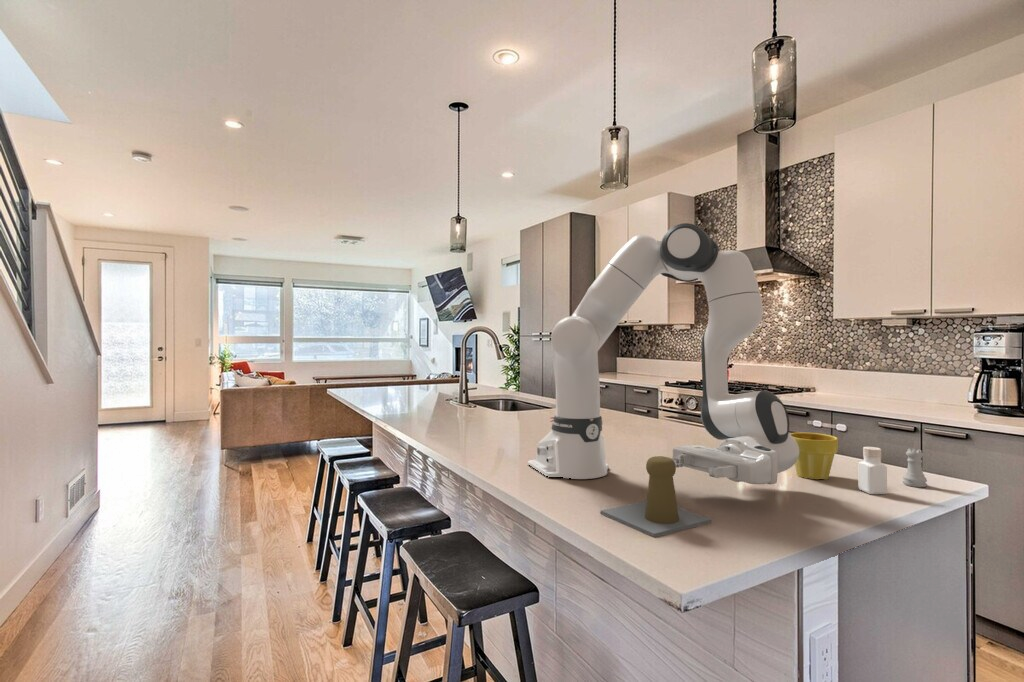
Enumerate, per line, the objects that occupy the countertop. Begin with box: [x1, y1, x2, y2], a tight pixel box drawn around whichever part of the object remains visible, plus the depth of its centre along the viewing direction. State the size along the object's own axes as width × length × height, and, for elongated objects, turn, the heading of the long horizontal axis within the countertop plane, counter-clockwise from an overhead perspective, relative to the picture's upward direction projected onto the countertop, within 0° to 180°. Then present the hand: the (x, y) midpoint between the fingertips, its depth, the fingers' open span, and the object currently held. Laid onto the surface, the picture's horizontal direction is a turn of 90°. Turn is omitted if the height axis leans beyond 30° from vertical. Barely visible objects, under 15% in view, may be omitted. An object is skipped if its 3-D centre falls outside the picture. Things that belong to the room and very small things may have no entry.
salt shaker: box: [857, 446, 888, 495], centre depth 111 cm, size 4×4×10 cm
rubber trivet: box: [600, 500, 712, 538], centre depth 96 cm, size 14×14×1 cm
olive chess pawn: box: [645, 455, 679, 524], centre depth 94 cm, size 6×6×11 cm
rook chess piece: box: [902, 448, 928, 489], centre depth 116 cm, size 4×4×8 cm
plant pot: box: [789, 431, 839, 480], centre depth 124 cm, size 10×10×10 cm
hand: (692, 467), depth 100 cm, fingers open, 8 cm apart
